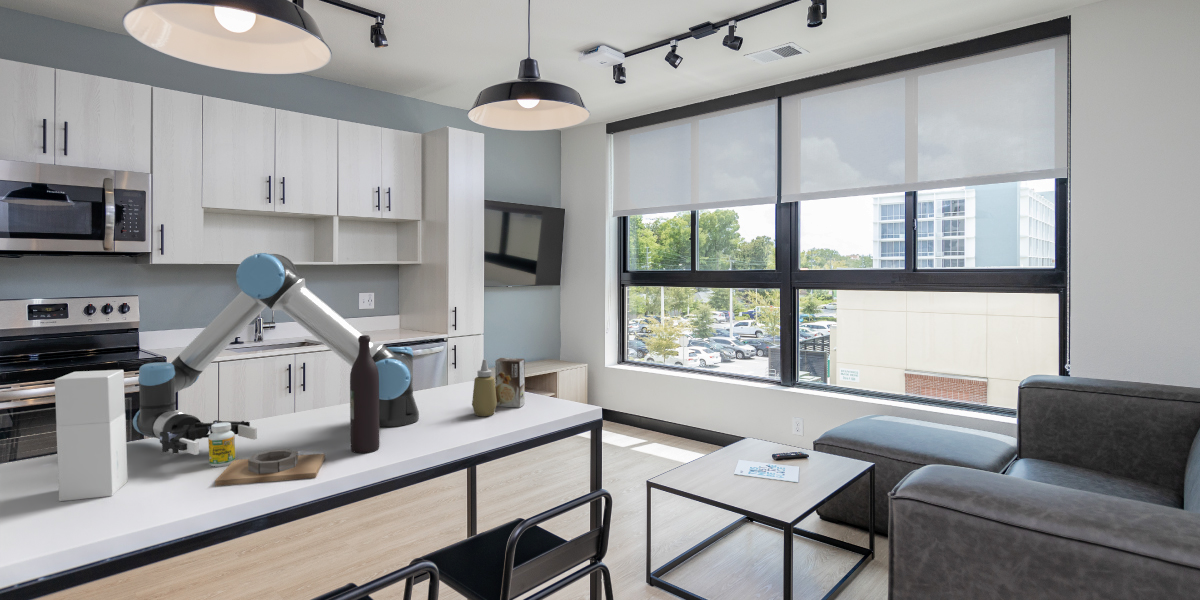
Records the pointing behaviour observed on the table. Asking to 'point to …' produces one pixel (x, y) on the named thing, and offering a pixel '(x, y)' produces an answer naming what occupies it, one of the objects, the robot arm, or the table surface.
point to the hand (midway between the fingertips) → (227, 440)
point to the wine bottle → (364, 400)
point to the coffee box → (510, 382)
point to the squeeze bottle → (484, 392)
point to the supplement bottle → (221, 445)
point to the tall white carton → (91, 434)
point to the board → (271, 468)
